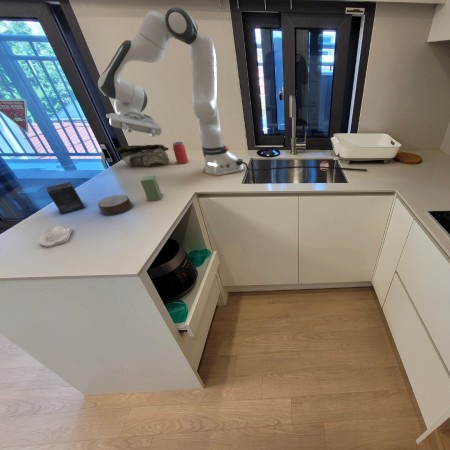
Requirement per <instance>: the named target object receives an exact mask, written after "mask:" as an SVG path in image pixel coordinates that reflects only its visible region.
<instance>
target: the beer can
mask: <svg viewBox="0 0 450 450" xmlns="http://www.w3.org/2000/svg"><path fill="white" fill-rule="evenodd" d="M172 150H173V152H174V156H175V160H176V163H177V164H181V165H183V164H187V163H188V162H189V158H188V155H187V151H186V147H185V144H184V143H183V142H182V141H176V142H173V143H172Z"/></svg>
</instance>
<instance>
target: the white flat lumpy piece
mask: <svg viewBox="0 0 450 450" xmlns="http://www.w3.org/2000/svg"><path fill="white" fill-rule="evenodd" d="M72 232H73V227H71V226H70V227H67V228H66V229H65V228H64V227H63V226H61V225H56V226H54V227H49V228H47V229H46V231H45V232H44V234H42V235H40V236H39V240H38V243H39V244H40V245H41V246H44V247H47V248H50V247H54V246H57V245H61V244H65V243H66V242H68V241H69V238H70V236H71V235H72Z"/></svg>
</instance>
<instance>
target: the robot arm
mask: <svg viewBox="0 0 450 450" xmlns="http://www.w3.org/2000/svg"><path fill="white" fill-rule="evenodd" d="M173 39H174V40H178V41H180V42H182V43H185V44H186V45H187V46H188V47H189V50H190V59H191V77H192V78H191V79H192V110H193V114H194V116H195V117H196V118H197V122H198V123H197V124H198V130H199V137H200V140H201V151H202V155H203V157H204V172H205V173H206V174H211V175H215V176H223V175H228V174H233V173H239V172H244V169H245V168H246V169H247V170H248V171H254V172H255V171H268V170H281V169H282V170H283V169H333V170H348V171H368V169H367V168H353V167H337V166H319V165H302V166H301V165H300V166H299V165H298V166H297V165H296V166H278V167H264V168H255V169H251V168H249V165H248V163H246V162H245V161H244V160H243V158H238V156H237V155H236V154H235V153H232V152H230V151H229V147H228V146H227V144H224V141H223V136H222V130H221V121H220V115H219V109H218V108H219V107H218V102H217V96H218V95H217V93H218V92H217V88H218V87H217V85H218V84H217V83H218V81H217V57H216V48H215V44H214V41H213V39H212V38H211V37H210V36H208V35H207V34H204V33H200V31H199V29H198V25H197V22H196V21H195V20H194V18H193V16H192V15H191V14H190V13H188V12H187V11H186V10H184V9H183V8H181V7H178V6H175V7H170V8H169V9H168V10H167V11H166V13H165V15H164V14H162V13H161V12H158V11H156V10H149V11H148V12H146V14H145V15H144V18H143V19H142V22H141V23H140V26H139V27H138V31H137V33H136V35H135V36H134V37H133V38H132V39H128V40H127V39H126V40H125V39H124V41H123V42H122V43H121V44H120V46H119V47H118V49H117V50H116V52H115V54H114V55H113V57H112V58H111V60H110V61H109V64H108V65H107V66H106V68H105V70H104V71H103V72H102V73H101V75H100V76H99V78H98V80H97V87H98V89H99V91H100V92H101V93H102V94H103V96H104V97H106V98H110V99H113V100H114V102H113V106H114V111H115V112H111V113H106V115H105V116H106V118H107V119H109V121H108V122H109V125H110V126H111V127H113V128H117V129H121V130H124V131H126V132H127V133H132V131H133V132H139V133H143V134H149V136H150V137H153V138H155V136H161V134H162V127H161V125H160V124H159V123H158V122H157V121H155V119H154V117H152V116H150V115H148V114H145V113H143V111H145V109H146V108H147V104H148V95H147V93H146V91H145V89H144V88H143V87H141V86H138V85H137V84H135V83H132V82H130V81H128V80H125V79H123V78H121V77H120V75H121V74H122V72H123V71H124V69H125V67H126V66H127V64H128V63H130V62H136V61H137V62H143V63H148V64H149V63H150V64H154V63H158V62H161V60H162V59H163V57H164V56H165V53H166V50H167V49H168V45H169V44H170V42H171V40H173ZM244 165H245V167H244Z"/></svg>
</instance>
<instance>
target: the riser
mask: <svg viewBox="0 0 450 450" xmlns="http://www.w3.org/2000/svg"><path fill="white" fill-rule="evenodd" d="M97 206H98V208H99V210H100V212H101V213H102V215H105V216H115V215H119V214H122V213H126V212H128V211H129V210H130V209H131V208H132V207H133V204H132V201H131V200H130V198H129V196H128V195H127V194H113V195H110V196H107V197H104V198H102V199H101V200H99V201H98V202H97Z"/></svg>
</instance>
